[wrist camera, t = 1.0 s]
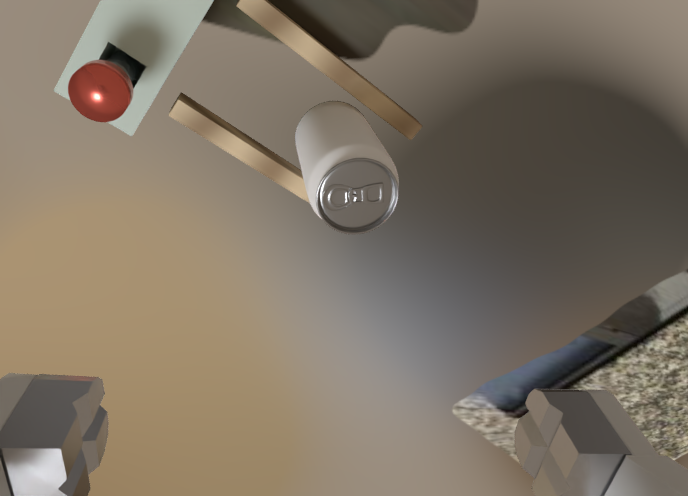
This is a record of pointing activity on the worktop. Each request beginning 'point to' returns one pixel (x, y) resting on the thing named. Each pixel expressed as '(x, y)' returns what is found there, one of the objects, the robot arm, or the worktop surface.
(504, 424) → the worktop surface
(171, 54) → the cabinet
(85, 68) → the plunger
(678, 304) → the worktop surface
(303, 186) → the rails
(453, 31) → the worktop surface
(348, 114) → the can
